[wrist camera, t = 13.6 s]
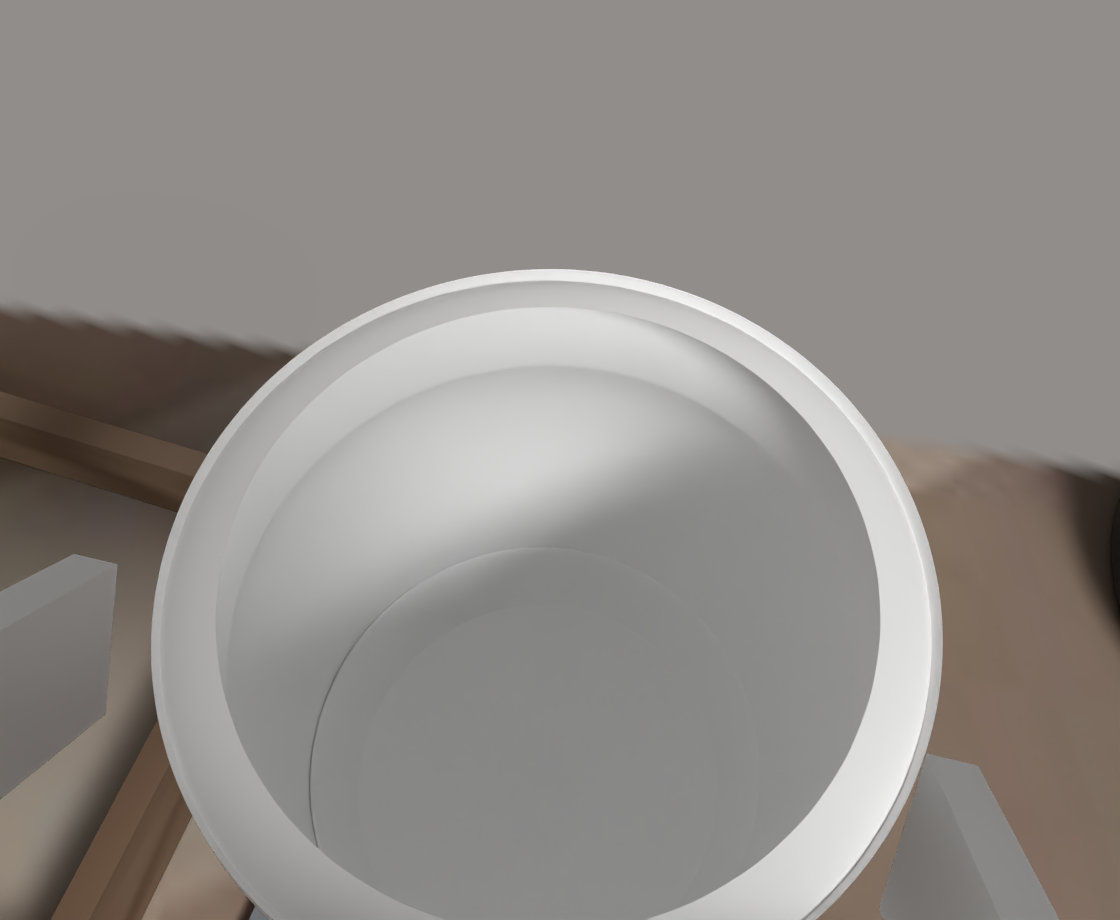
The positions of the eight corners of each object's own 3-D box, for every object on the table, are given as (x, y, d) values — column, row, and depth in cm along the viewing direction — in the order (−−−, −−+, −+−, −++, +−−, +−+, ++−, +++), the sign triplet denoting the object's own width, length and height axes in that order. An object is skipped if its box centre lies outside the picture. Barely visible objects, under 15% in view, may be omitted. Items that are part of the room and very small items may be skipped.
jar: (446, 565, 29) (393, 182, 16) (781, 704, 28) (1015, 398, 15) (250, 928, 24) (-50, 784, 11) (647, 1128, 22) (827, 1227, 10)
